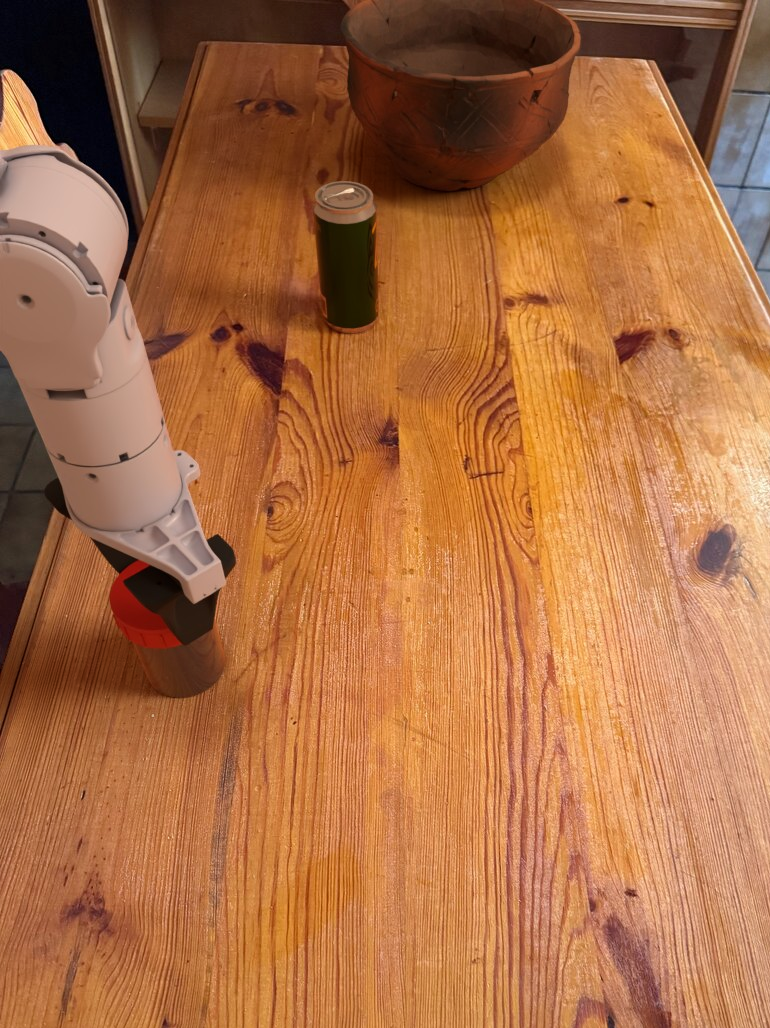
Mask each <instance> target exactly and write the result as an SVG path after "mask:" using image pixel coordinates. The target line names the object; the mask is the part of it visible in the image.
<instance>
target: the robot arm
mask: <svg viewBox="0 0 770 1028" xmlns="http://www.w3.org/2000/svg"><path fill="white" fill-rule="evenodd" d="M128 240H129V222H128V217H127V214H126V211H125V208H124V206H123V203H122V202H121V200H120V197H119V196H118V194H117V192H115V190H114V189H113V188H112V187H111V186H110V184H109V183H108V182H107V181H106V180H105V179H104V178H103V177H102V176H101V175H100V174H99V173H97V172H96V171H95V170H94V169H92V168H91V167H89V166H88V165H86V164H84V163H83V162H82V161H79V160H78V159H75V158H73V157H72V156H71V155H70V154H68V153H67V152H66V151H65V150H64V149H62V148H61V147H60V148H59V147H58V146H57V147H56V146H52V145H45V144H26V145H21V146H16V147H13V148H10V149H0V352H1V353H2V354H3V355H4V357H5V358H6V360H7V363H8V364H9V366H10V369H11V371H12V373H13V376H14V378H15V380H16V381H17V383H18V385H19V388H20V390H21V393H22V395H23V397H24V400H25V402H26V405H27V406H28V409H29V412H30V413H31V416H32V418H33V421H34V423H35V426H36V428H37V430H38V432H39V435H40V437H41V439H42V442H43V444H44V447H45V450H46V452H47V454H48V457H49V459H50V462H51V464H52V466H53V469H54V471H55V473H56V475H57V477H56V478H54V479H53V480H51V481H49V483H47V484H46V485H45V487H44V490H43V494H44V495H43V496H44V497H45V499H46V500H47V501H48V502H49V503H50V504H51V505H52V507H53V508H54V509H55V510H56V511H57V512H58V514H60V515H62V516H64V517H66V518H67V519H69V520H70V521H72V522H73V524H74V527H76V528H77V529H78V530H79V531H80V532H81V533H82V534H84V536H87V537H89V539H90V540H91V542H92V543H93V544H94V546H95V547H96V548H97V550H98V551H99V552H100V554H101V555H102V557H104V559H105V560H106V561H107V563H108V564H109V565H110V566H111V567H112V568H113V569H114V570H115V571H116V573H117V574H118V575H119V574H120V573H121V572H122V571H123V570H124V569H125V568H127V567H128V566H129V565H131V564H132V563H134V562H136V561H138V560H141V561H143V562H145V563H147V564H150V565H149V566H148V567H146V568H144V569H142V570H141V571H139V572H137V573H135V574H134V575H132V576H130V577H128V578H127V579H125V580H123V583H124V585H125V587H126V588H127V589H128V590H129V591H130V592H131V593H132V594H133V596H134V597H135V598H136V599H137V600H138V601H139V602H140V603H141V604H142V605H143V606H144V607H145V608H147V609H148V610H149V611H151V612H152V613H155V614H158V615H160V616H161V617H162V619H163V621H164V622H165V624H166V625H167V627H168V628H169V630H170V631H171V632H172V634H173V635H174V636H175V637H176V638H177V639H178V640H179V641H180V642H181V643H182V644H183V645H188V644H190V643H192V642H193V641H195V640H196V639H198V638H199V637H201V636H203V635H204V634H206V633H207V632H209V631H211V630H212V629H213V625H214V618H215V617H216V608H217V604H218V598H219V595H220V591H221V589H222V588H223V587H224V586H226V585H227V580H226V579H227V578H228V576H229V575H230V574H231V572H232V570H233V569H234V568H235V567H236V565H237V558H236V554H235V551H234V549H233V547H232V546H231V545H230V544H229V542H227V541H226V540H225V539H224V538H223V537H222V536H221V535H220V534H219V533H216V534H214V535H213V536H211V537H208V538H207V539H206V536H205V533H204V530H203V527H202V525H201V521H200V519H199V516H198V513H197V510H196V507H195V504H194V501H193V498H192V495H191V493H190V489H189V486H190V484H191V483H192V482H194V481H196V480H198V479H199V478H200V476H201V473H202V472H201V468H200V465H199V463H198V462H197V460H196V459H194V458H193V457H192V456H191V455H190V454H189V453H188V452H186V451H185V450H182V449H177V450H174V448H173V445H172V441H171V437H170V434H169V430H168V427H167V424H166V420H165V416H164V412H163V408H162V404H161V401H160V396H159V394H158V390H157V386H156V383H155V379H154V375H153V372H152V368H151V364H150V360H149V357H148V354H147V353H148V352H147V350H146V346H145V342H144V338H143V336H142V334H141V331H140V329H139V326H138V323H137V319H136V315H135V312H134V309H133V305H132V301H131V298H130V294H129V290H128V287H127V284H126V282H125V280H123V279H122V278H119V276H120V274H121V270H122V267H123V264H124V261H125V258H126V254H127V251H128V242H129V241H128ZM216 603H217V604H216ZM215 619H216V618H215Z"/></svg>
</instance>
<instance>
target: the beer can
mask: <svg viewBox="0 0 770 1028" xmlns="http://www.w3.org/2000/svg"><path fill="white" fill-rule="evenodd" d="M312 211H313V212H312V213H313V226H314V235H315V236H314V238H315V248H316V260H317V261H316V262H317V272H318V285H319V286H318V287H319V297H320V308H321V314H322V317H323V319H324V321H325V322H326V324H327V325H328V327H329V328H331V329H332V330H334V331H335V332H339V333H342V334H357V333H363V332H365V331H367V330H369V329H370V328H372V327H373V326H374V324H375V322H376V321H377V319H378V317H379V313H380V312H379V311H380V306H379V305H380V303H379V302H380V301H379V263H378V262H379V260H378V259H379V258H378V221H377V204H376V203H375V200H374V193H373V191H372V190H371V189H370V188H369V187H368V186H367V185H364V184H362V183H360V182H355V181H347V180H346V181H345V180H340V181H332V182H329V183H326V184H323V185H322V186H320V187H319V188H318V189H317V190H316V191H315V193H314V203H313V208H312Z"/></svg>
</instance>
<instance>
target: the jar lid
mask: <svg viewBox="0 0 770 1028" xmlns="http://www.w3.org/2000/svg"><path fill="white" fill-rule="evenodd" d="M149 565H150V564H147V563H145V562H143V561H141V560H138V561H136V562H134V563H132V564H131V565H129V566H128V567H127V568H125V569H124V570H123V571H122V572H121V573H120V574H119V573H118V575H117V576H116V578H115V580H113V583H112V585H111V588H110V591H109V598H108V600H109V605H110V609H111V611H112V613H113V614H112V618H113V619H114V622H115V625H116V627H117V629H118V630H120V631H121V633H122V635H124V636H125V637H126V638H127V640H128V641H131V642H132V643H133V642H134V643H136V644H138V645H141V646H144V647H145V648H146V647H148V648H164V649H166V648H170V647H175V646H178V645H181V644H182V643H181V642H180V641H179V640H178V639H177V638H176V637H175V636H174V635H173V634H172V632H171V631H170V630H169V628H168V627H167V625H166V624H165V622H164V621H163V619H162V617H161V616H160V615H158V614H155V613H152V612H151V611H149V610H148V609H147V608H145V607H144V606H143V605H142V604H141V603H140V602H139V601H138V600H137V599H136V598H135V597H134V596H133V594H132V593H131V592H130V591H129V590H128V589H127V588H126V587H125V585H124V583H123V580H125V579H127V578H128V577H130V576H132V575H134V574H135V573H137V572H139V571H141V570H142V569H144V568H146V567H148V566H149ZM217 604H218V602H217V603H216V605H217Z"/></svg>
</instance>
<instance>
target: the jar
mask: <svg viewBox="0 0 770 1028" xmlns="http://www.w3.org/2000/svg"><path fill="white" fill-rule="evenodd" d="M132 645H133V647H134V649H135V652H136V654H137V656H138V659H139V661H140V664H141V666H142V669H143V671H144V673H145V676H146V678H147V681H148V683H149V684H150V686H151V687H152V688H153V689H154V690H155V691H157V692H158V693H160V694H161V695H163V696H167V697H170V698H175V699H179V698H180V699H182V698H183V699H184V698H191V697H194V696H198V695H200V694H202V693H204V692H206V691H207V690H209V689H210V688H212V687H213V686H214V685H215V684H217V682H218V681H219V680H220V678H222V677H221V676H222V675H223V673H224V670H225V667H226V654H225V651H224V646H223V643H222V639H221V636H220V633H219V628H218V625H217V623H216V618H214V625H213V629H212V630H211V631H209V632H207V633H206V634H204V635H203V636H201V637H199V638H198V639H196V640H195V641H193V642H192V643H190V644H188V645H183V644H181V645H178V646H175V647H170V648H166V649H164V648H148V647H146V648H145V647H144V646H141V645H138V644H136V643H134V642H132Z"/></svg>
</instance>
